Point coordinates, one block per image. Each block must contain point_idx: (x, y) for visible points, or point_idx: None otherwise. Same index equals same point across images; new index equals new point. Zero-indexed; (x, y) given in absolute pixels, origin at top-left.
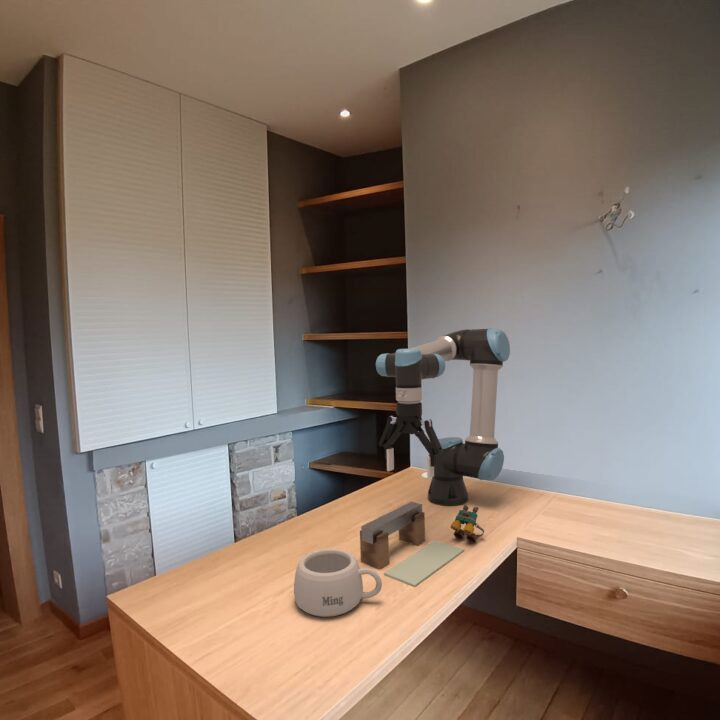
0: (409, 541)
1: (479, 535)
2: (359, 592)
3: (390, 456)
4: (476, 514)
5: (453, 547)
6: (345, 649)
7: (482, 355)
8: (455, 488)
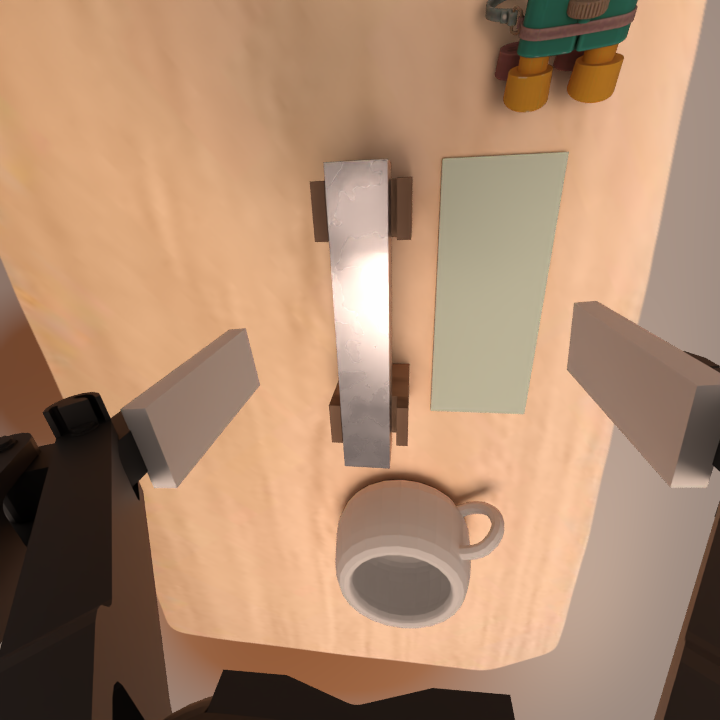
0: None
1: None
2: (468, 536)
3: (206, 421)
4: None
5: (527, 165)
6: (511, 583)
7: None
8: None
